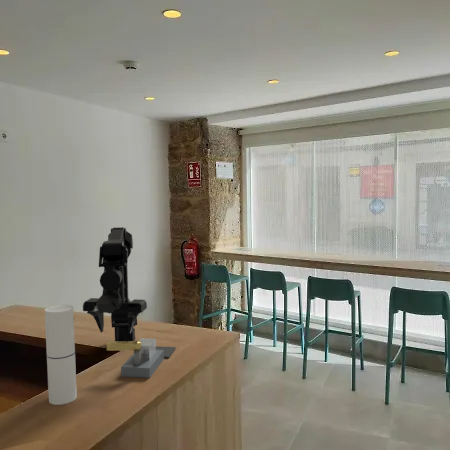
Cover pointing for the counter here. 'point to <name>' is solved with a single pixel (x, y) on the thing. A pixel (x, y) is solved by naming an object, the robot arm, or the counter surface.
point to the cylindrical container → (60, 354)
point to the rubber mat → (166, 350)
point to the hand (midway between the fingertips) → (115, 332)
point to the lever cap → (147, 348)
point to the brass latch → (124, 345)
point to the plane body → (141, 365)
